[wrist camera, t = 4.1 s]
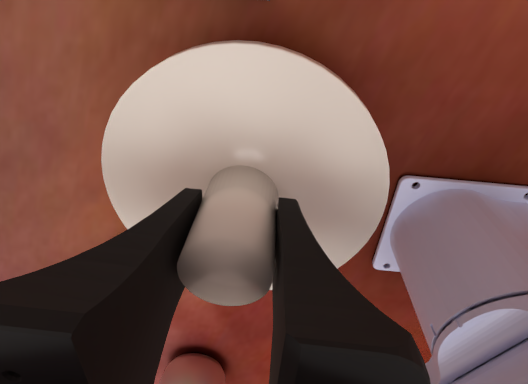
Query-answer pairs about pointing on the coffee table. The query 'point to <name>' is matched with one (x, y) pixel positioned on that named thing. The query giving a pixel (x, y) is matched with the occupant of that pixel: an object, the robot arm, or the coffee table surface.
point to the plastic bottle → (193, 370)
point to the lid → (246, 159)
